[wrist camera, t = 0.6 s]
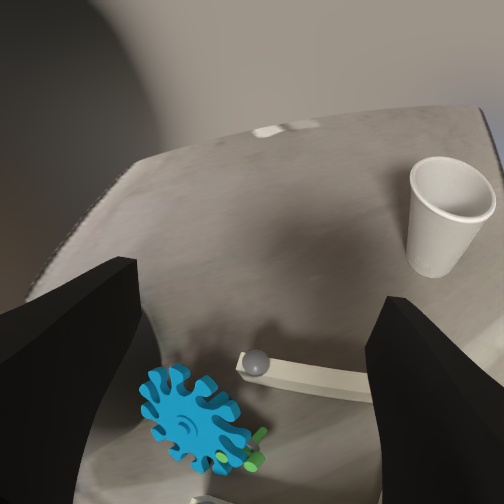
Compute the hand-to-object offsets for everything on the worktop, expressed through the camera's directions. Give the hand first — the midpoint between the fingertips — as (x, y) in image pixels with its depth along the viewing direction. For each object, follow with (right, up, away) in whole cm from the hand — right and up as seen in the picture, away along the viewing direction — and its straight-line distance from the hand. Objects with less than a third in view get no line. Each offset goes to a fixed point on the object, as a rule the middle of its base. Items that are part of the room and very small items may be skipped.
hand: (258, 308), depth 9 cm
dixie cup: (+19, +1, +21) cm, 29 cm away
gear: (-4, -14, +15) cm, 21 cm away
